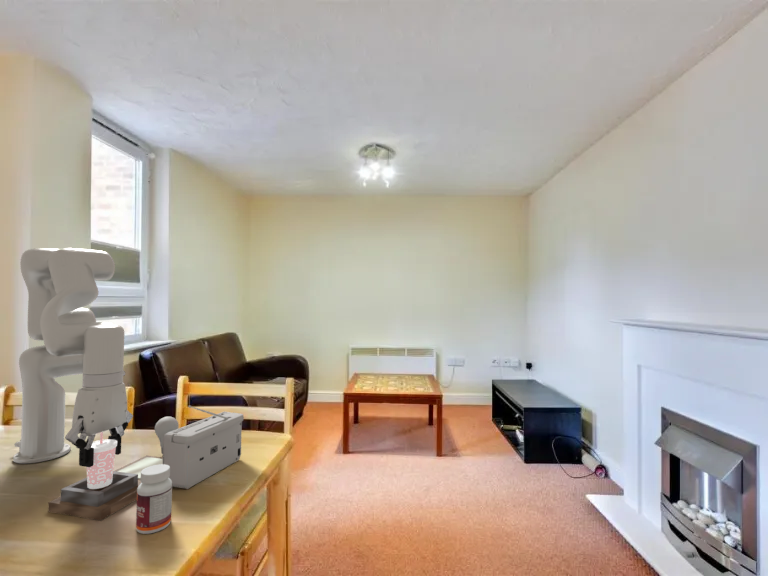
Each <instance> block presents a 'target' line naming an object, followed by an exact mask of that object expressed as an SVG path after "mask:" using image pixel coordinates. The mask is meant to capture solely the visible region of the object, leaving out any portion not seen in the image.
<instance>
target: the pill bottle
mask: <svg viewBox="0 0 768 576" xmlns="http://www.w3.org/2000/svg"><path fill="white" fill-rule="evenodd" d="M169 477H170V466H169V465H165V464H159V465H153V466H149V467H147V468H145V469H143V470H142V471H141V478H140V481H141V482H142V483H141V484H140V485H139V486H138V488H137V500H136V513H135V514H136V515H135V516H136V517H135V521H136V522H135V528H136V531H137V532H138V533H139V534H142V535H149V534H155V533H158V532H161V531H163V530H164V529H166V528H167V527H168V526H169V525H170V524H171V522H172V505H173V502H172V501H173V500H172V499H173V486H172V481H171V479H170V478H169Z"/></svg>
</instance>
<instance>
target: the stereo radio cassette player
mask: <svg viewBox="0 0 768 576" xmlns="http://www.w3.org/2000/svg"><path fill="white" fill-rule="evenodd" d="M188 408H190V409H191V408H192V409H195V410H197V411H201V412H202V413H206V414H209V415H211V416H209V417H206V418H203V419H200V420H198V421H195V422H192V423H190V424H188V425H185V426H182V427H178V429H176V430H173V431H171V432H168V433H166V434H165V435H164V440H163V454H162V457H163V464H165V465H169V466H170V477H169V478H170V479H171V481H172V488H180V489H186V490H189V489H190V488H191V487H193V486H195V485H197V484H199V483H201V482H202V481H204V480H205V479H208V478H209V477H211V476H213V475H215V474H216V473H218V472H220V471H222V470H223V469H225V468H227V467H229V466H231V465H233V464H234V463H236V462H238V461H239V460H240V459H241V455H242V426H243V421H244V420H245V419H244V418H245V417H244V414H243V413H240V412H239V413H238V412H230V411H221V412H219V413H215V412H212V411H208V410H204V409H201V408H197V407H193V406H192V405H188Z"/></svg>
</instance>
